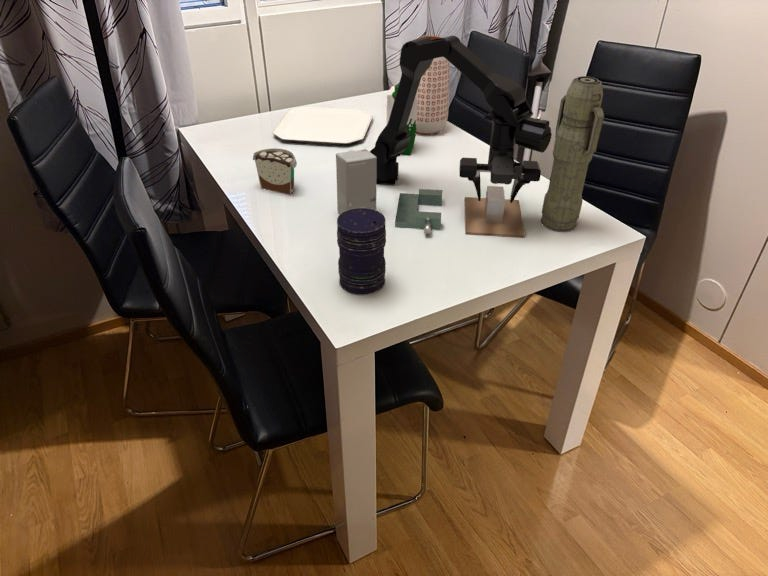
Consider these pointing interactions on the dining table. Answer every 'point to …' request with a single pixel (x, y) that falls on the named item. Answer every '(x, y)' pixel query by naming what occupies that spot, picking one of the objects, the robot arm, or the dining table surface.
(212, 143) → the dining table surface
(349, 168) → the skincare box
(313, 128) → the plate
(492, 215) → the steel bar
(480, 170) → the robot arm
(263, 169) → the food container
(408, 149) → the milk carton
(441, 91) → the planter
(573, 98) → the thermos
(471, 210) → the walnut mat
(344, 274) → the storage jar
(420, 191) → the green base
